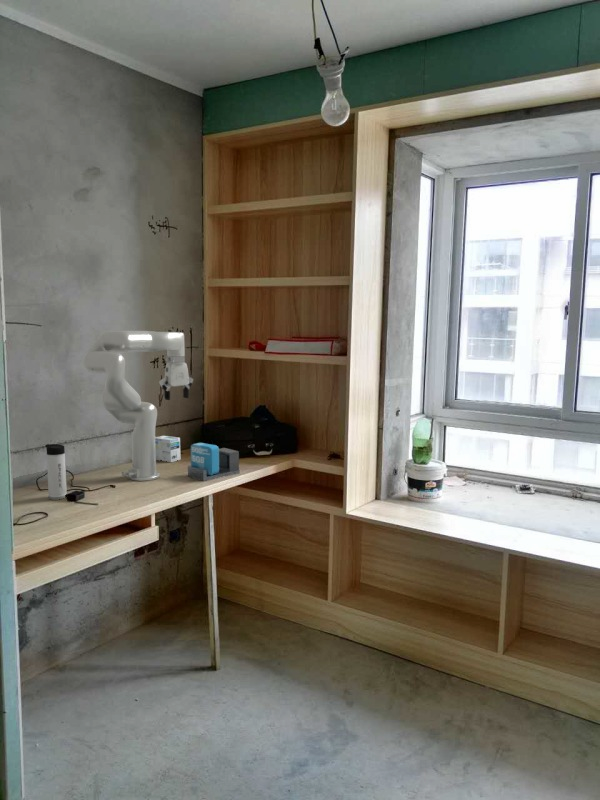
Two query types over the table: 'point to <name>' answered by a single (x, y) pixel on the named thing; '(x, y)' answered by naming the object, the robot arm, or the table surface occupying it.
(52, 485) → the travel mug
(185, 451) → the table surface
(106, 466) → the table surface
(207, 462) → the data package
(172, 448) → the light bulb box
